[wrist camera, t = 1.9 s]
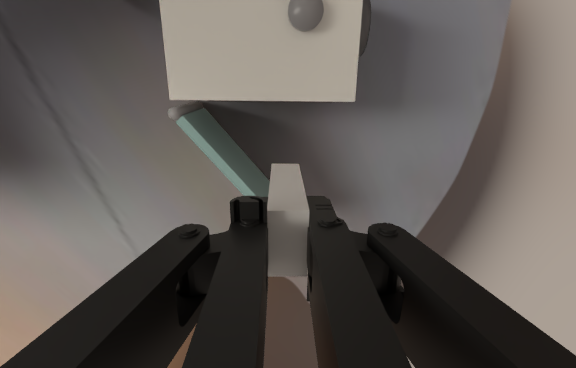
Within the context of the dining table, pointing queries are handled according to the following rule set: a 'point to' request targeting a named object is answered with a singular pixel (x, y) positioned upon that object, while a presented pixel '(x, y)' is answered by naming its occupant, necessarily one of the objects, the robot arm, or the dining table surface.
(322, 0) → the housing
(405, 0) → the dining table surface
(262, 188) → the side door
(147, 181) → the dining table surface
